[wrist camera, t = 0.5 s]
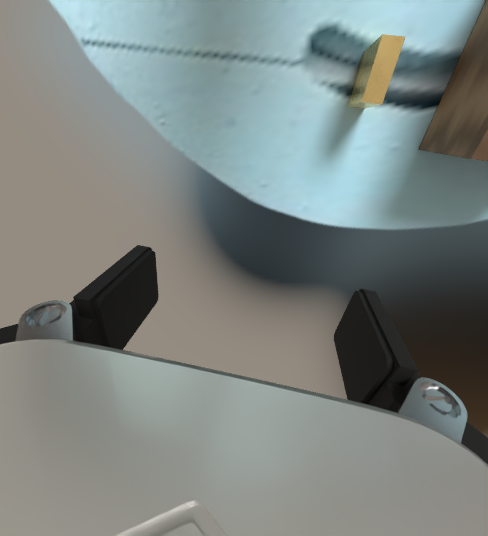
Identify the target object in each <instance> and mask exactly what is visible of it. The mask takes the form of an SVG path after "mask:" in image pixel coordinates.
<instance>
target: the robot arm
mask: <svg viewBox="0 0 488 536" xmlns="http://www.w3.org/2000/svg"><path fill="white" fill-rule="evenodd" d="M157 301H158V285H157V272H156V257H155V252H154V251H152V249H151V248H150V247H145V246H140V245H137V246H136V247H135V248H133V250H131V251H130V252H128V253H127V254H126V255H125V256H124V257H122V258H121V259H120V260H119V261H117V262H116V263H115V264H114V265H112V266H111V267H110V268H109V269H108V270H106V271H105V272H104V273H103V274H101V275H100V276H99V277H98V278H96V279H95V280H94V281H93V282H91V283H90V284H89V285H88V286H87V287H85V288H84V289H83V290H82V291H81V292H79V293H78V294H77V295H75V296H74V300H73V301H72V302H71V303H67V302H64V301H57V300H54V301H48V302H44V303H40V304H38V305H35V306H33V307H31V308H30V309H28V310H27V311H25V312H24V313H23V314H22V315H21V318H20V320H19V324H16V325H12V326H9V327H4V328H1V329H0V536H488V438H487V437H486V436H485V435H483V434H482V433H481V432H479V431H478V430H477V429H475V428H474V427H473V426H472V425H470V424H469V423H468V422H466V421H467V411H466V409H465V406H464V405H463V404H462V402H461V400H460V399H459V398H458V397H457V396H456V395H455V394H454V393H453V392H452V391H451V390H450V389H448V388H447V387H445V386H444V385H442V384H441V383H439V382H437V381H435V380H432V379H428V378H421V377H420V375H419V373H418V368H417V367H416V365H415V363H414V361H413V359H412V357H411V356H410V354H409V352H408V350H407V348H406V346H405V345H404V343H403V341H402V339H401V337H400V335H399V334H398V332H397V330H396V328H395V326H394V324H393V323H392V321H391V319H390V317H389V315H388V313H387V312H386V310H385V308H384V306H383V304H382V302H381V300H380V299H379V297H378V295H377V293H376V292H375V291H371V290H366V289H360V290H359V291H355V292H354V294H353V296H352V298H351V300H350V302H349V304H348V306H347V309H346V310H345V312H344V314H343V317H342V319H341V321H340V323H339V325H338V327H337V329H336V331H335V334H334V342H335V346H336V351H337V355H338V359H339V364H340V368H341V373H342V377H343V381H344V386H345V390H346V394H347V399H348V400H346V399H342V398H338V397H334V396H330V395H325V394H321V393H316V392H312V391H307V390H303V389H299V388H294V387H290V386H286V385H281V384H277V383H272V382H268V381H263V380H259V379H254V378H250V377H245V376H241V375H236V374H232V373H227V372H223V371H218V370H213V369H209V368H205V367H200V366H195V365H191V364H186V363H181V362H177V361H172V360H167V359H163V358H158V357H154V356H149V355H144V354H139V353H135V352H130V351H125V350H123V348H124V347H125V346H126V344H127V343H128V341H129V340H130V339H131V337H132V336H133V335H134V333H135V332H136V330H137V329H138V328H139V326H140V325H141V324H142V322H143V321H144V319H145V318H146V317H147V315H148V314H149V313H150V311H151V310H152V308H153V307H154V306H155V304H156V303H157Z"/></svg>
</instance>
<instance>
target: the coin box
mask: <svg viewBox="0 0 488 536" xmlns="http://www.w3.org/2000/svg"><path fill="white" fill-rule="evenodd" d="M419 150H424V151H430V152H435V153H441V154H447V155H452V156H458V157H464V158H469V159H476V160H483V161H488V0H486V2H485V4H484V6H483V8H482V10H481V13H480V15H479V17H478V19H477V21H476V24H475V26H474V28H473V30H472V32H471V35H470V37H469V39H468V41H467V43H466V46H465V48H464V50H463V52H462V54H461V57H460V59H459V61H458V63H457V66H456V68H455V70H454V72H453V74H452V77H451V79H450V81H449V83H448V85H447V88H446V90H445V92H444V94H443V96H442V99H441V101H440V103H439V105H438V107H437V110H436V112H435V114H434V116H433V118H432V121H431V123H430V125H429V127H428V129H427V132H426V134H425V136H424V138H423V140H422V143H421V145H420V147H419Z"/></svg>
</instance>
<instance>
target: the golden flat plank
mask: <svg viewBox="0 0 488 536" xmlns="http://www.w3.org/2000/svg"><path fill="white" fill-rule="evenodd" d="M404 40H405V37H402V36H392V35H381V36H380V37H379V38H378V39H377V40H376V41H375V42H374V43H373V44H372V45H371V46H370V47H369V48H367V49H366V50H365V51H364V53H363V56H362V60H361V63H360V67H359V70H358V74H357V77H356V81H355V84H354V88H353V91H352V95H351V98H350V101H349V105H348V106H351V107H358V108H369V107H373V106H378V105H382V103H383V100H384V97H385V94H386V91H387V89H388V86H389V83H390V80H391V77H392V74H393V71H394V68H395V66H396V63H397V60H398V57H399V54H400V51H401V48H402V46H403V43H404Z"/></svg>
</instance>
